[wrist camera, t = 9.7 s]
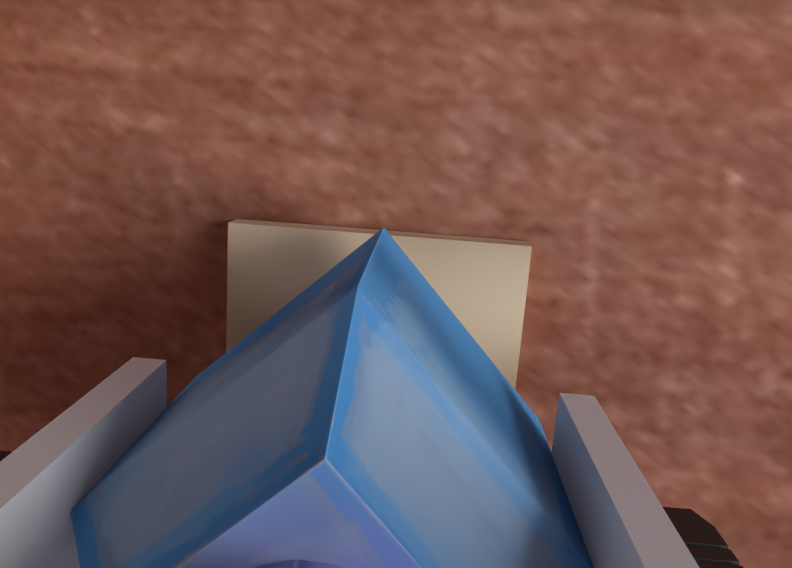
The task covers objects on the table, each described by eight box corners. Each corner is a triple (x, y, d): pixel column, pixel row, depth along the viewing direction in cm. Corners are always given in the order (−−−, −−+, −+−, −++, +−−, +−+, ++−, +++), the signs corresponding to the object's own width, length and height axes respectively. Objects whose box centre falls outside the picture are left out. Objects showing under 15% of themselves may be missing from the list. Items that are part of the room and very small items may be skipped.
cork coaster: (236, 218, 19) (228, 222, 18) (527, 241, 19) (531, 245, 18) (231, 482, 21) (223, 496, 20) (497, 505, 21) (499, 520, 20)
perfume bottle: (349, 551, 18) (210, 1298, 7) (193, 378, 17) (-281, 889, 6) (539, 419, 17) (771, 1034, 6) (383, 227, 16) (272, 481, 5)
